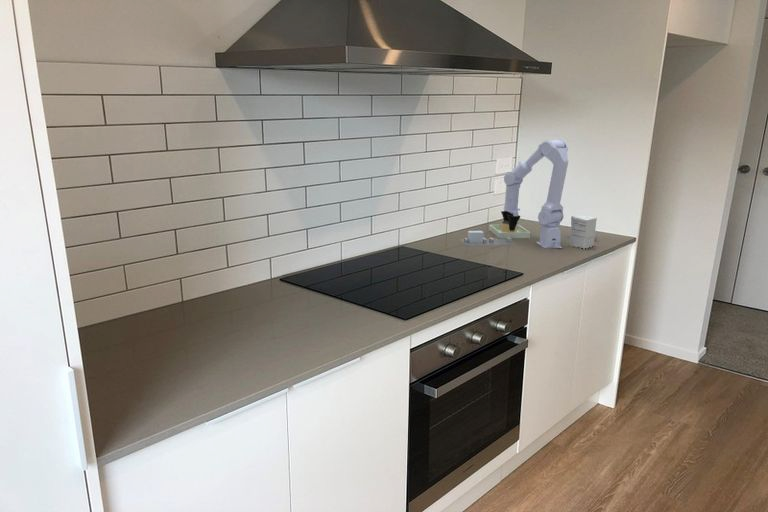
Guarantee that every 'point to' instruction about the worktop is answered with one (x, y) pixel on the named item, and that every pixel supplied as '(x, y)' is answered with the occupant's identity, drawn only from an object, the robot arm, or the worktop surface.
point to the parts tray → (519, 234)
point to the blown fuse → (507, 227)
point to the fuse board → (490, 241)
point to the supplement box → (583, 231)
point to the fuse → (475, 236)
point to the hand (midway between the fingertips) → (509, 228)
